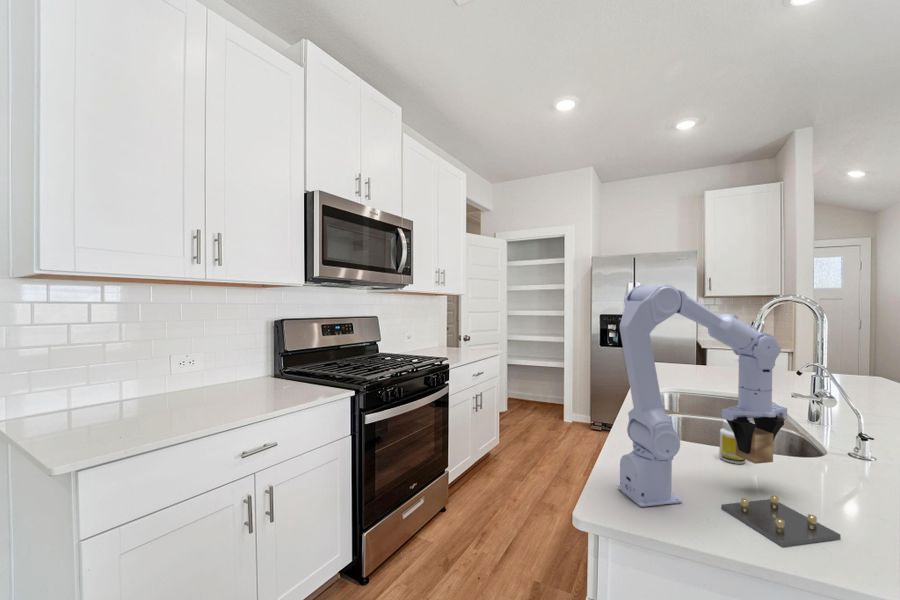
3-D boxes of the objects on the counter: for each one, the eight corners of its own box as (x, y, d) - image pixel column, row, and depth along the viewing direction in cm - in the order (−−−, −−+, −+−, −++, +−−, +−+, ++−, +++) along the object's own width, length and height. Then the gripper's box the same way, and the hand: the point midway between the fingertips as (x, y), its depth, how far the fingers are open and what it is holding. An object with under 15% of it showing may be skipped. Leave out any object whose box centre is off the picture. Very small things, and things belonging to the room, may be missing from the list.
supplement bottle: (750, 465, 97) (750, 426, 97) (725, 463, 98) (725, 424, 98) (738, 456, 103) (739, 419, 102) (715, 455, 104) (715, 417, 103)
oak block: (754, 463, 82) (755, 435, 82) (735, 455, 87) (736, 427, 87) (772, 462, 83) (773, 433, 83) (753, 453, 88) (753, 426, 87)
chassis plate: (782, 547, 66) (782, 530, 66) (721, 508, 78) (721, 494, 78) (840, 539, 68) (840, 523, 68) (772, 502, 80) (772, 489, 80)
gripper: (742, 394, 79) (742, 461, 80) (802, 391, 82) (801, 455, 82) (713, 386, 86) (712, 447, 87) (769, 383, 89) (768, 443, 89)
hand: (754, 450), depth 85 cm, fingers closed on oak block, 4 cm apart
